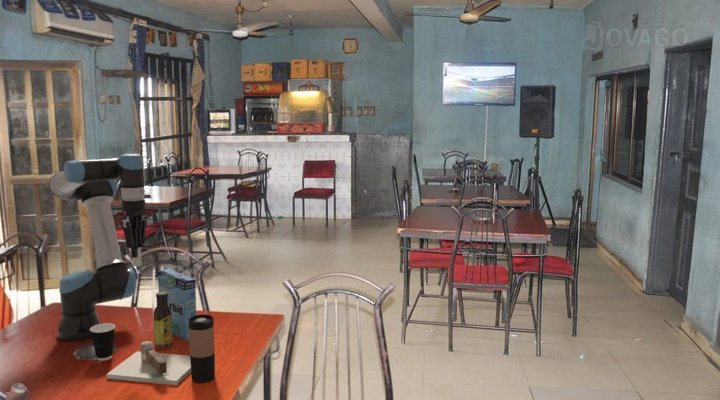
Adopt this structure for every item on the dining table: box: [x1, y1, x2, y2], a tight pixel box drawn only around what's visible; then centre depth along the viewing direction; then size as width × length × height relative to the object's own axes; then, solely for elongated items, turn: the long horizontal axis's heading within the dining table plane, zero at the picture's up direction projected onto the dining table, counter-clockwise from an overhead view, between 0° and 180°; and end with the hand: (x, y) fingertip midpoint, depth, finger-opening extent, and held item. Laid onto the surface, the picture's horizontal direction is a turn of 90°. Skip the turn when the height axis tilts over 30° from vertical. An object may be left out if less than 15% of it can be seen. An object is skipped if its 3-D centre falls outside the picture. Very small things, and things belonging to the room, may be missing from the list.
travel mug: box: [188, 314, 216, 384], centre depth 187 cm, size 8×8×20 cm
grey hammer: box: [140, 340, 167, 374], centre depth 191 cm, size 17×4×6 cm, turn 38°
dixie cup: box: [90, 322, 116, 362], centre depth 202 cm, size 8×8×11 cm
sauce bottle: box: [153, 291, 174, 350], centre depth 212 cm, size 7×6×20 cm
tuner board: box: [106, 350, 191, 386], centre depth 194 cm, size 24×18×2 cm
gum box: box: [157, 268, 197, 342], centre depth 224 cm, size 20×5×23 cm, turn 47°
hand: (137, 265), depth 207 cm, fingers closed
